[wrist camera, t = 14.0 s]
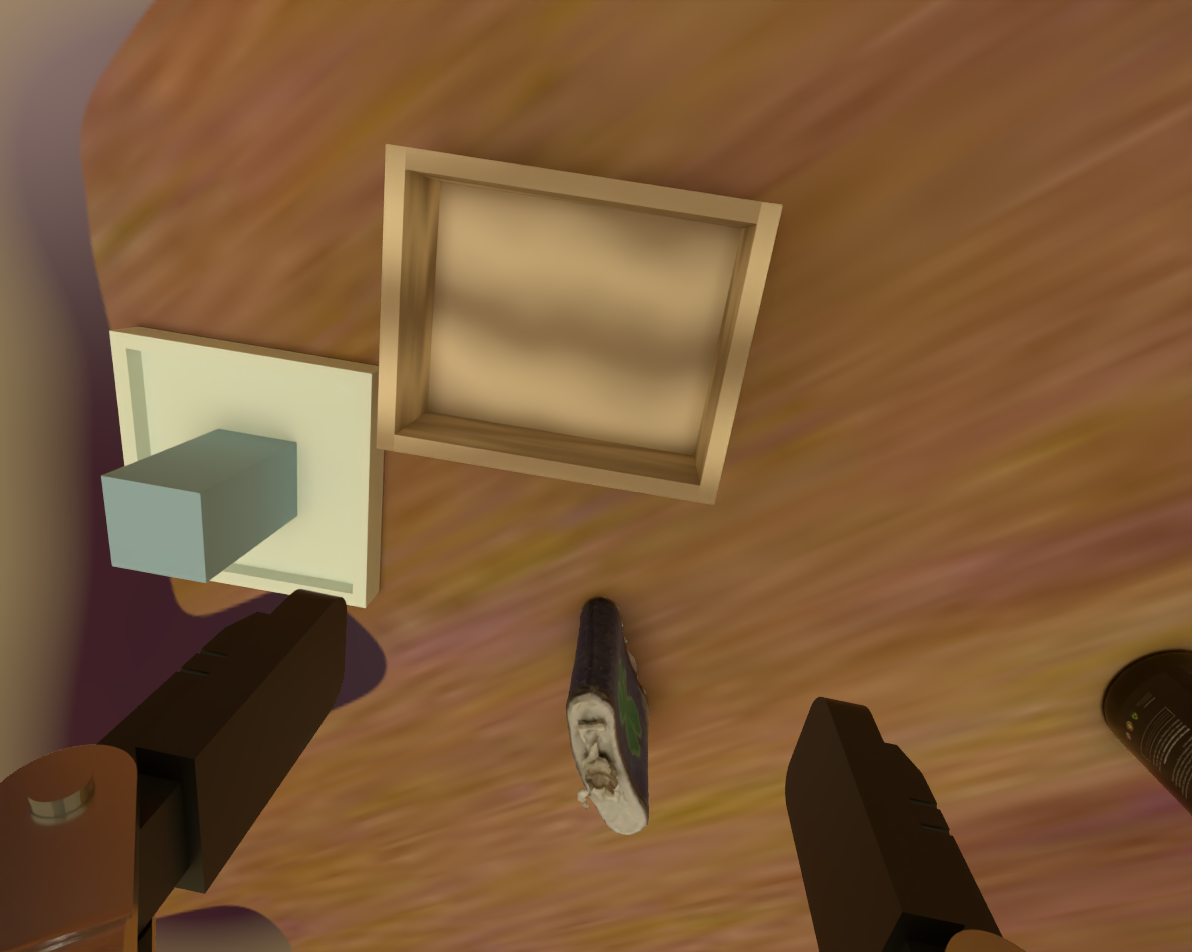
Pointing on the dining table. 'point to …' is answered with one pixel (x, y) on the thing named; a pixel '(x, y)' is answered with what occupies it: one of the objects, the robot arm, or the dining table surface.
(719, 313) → the crate
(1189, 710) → the supplement bottle
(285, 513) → the block
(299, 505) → the plate
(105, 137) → the dining table surface
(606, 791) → the flask
